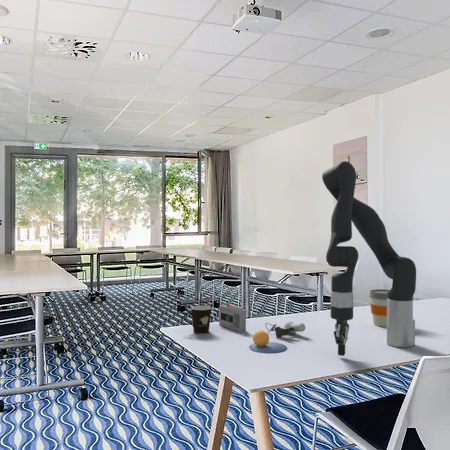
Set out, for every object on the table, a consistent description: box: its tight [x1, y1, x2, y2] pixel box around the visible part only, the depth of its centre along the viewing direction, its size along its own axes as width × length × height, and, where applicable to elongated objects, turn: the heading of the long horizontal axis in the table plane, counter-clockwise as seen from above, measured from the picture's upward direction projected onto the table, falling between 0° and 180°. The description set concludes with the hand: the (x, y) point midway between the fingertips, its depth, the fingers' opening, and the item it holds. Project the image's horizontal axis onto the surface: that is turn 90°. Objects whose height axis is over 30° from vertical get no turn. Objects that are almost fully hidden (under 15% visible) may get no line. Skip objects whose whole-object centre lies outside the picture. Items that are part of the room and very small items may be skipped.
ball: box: [252, 329, 270, 347], centre depth 170 cm, size 6×6×6 cm
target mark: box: [248, 341, 288, 354], centre depth 168 cm, size 14×14×1 cm
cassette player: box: [218, 303, 247, 333], centre depth 199 cm, size 16×3×10 cm, turn 36°
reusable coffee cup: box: [369, 288, 390, 328], centre depth 205 cm, size 12×13×15 cm
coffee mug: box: [182, 305, 212, 334], centre depth 192 cm, size 12×9×10 cm
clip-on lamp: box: [264, 321, 306, 339], centre depth 188 cm, size 12×6×18 cm
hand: (341, 354), depth 156 cm, fingers closed
